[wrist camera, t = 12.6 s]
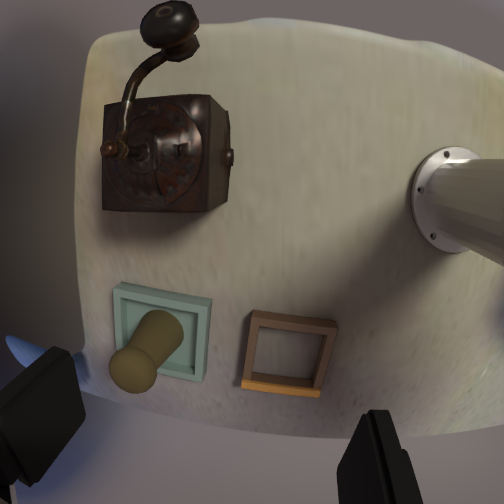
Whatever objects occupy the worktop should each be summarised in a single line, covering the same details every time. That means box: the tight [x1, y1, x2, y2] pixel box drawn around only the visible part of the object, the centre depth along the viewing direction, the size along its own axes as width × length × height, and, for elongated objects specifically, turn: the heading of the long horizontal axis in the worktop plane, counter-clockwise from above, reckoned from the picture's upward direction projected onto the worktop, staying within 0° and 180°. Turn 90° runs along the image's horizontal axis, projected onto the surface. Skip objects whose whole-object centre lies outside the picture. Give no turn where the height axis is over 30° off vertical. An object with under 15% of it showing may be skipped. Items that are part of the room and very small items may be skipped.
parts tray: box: [113, 282, 212, 383], centre depth 39 cm, size 12×11×2 cm
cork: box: [109, 309, 184, 394], centre depth 34 cm, size 6×6×11 cm
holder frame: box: [241, 310, 338, 398], centre depth 38 cm, size 10×10×2 cm
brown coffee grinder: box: [100, 0, 234, 213], centre depth 25 cm, size 16×11×18 cm
